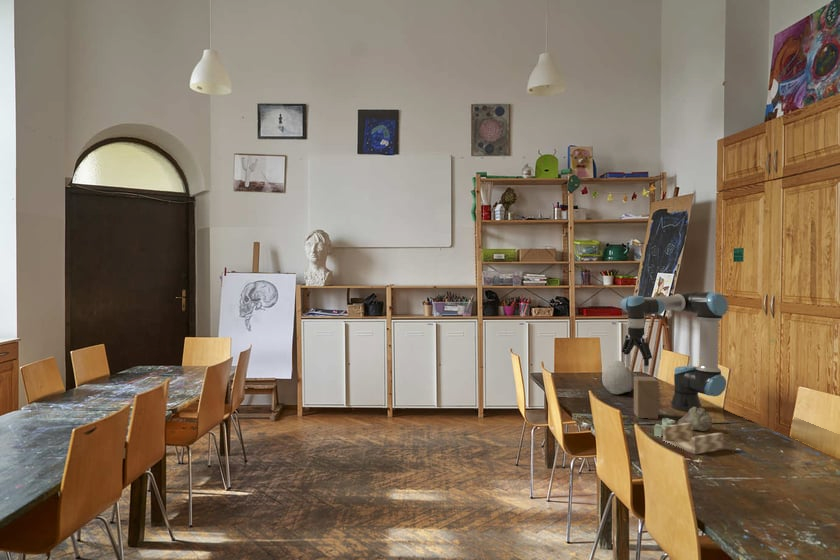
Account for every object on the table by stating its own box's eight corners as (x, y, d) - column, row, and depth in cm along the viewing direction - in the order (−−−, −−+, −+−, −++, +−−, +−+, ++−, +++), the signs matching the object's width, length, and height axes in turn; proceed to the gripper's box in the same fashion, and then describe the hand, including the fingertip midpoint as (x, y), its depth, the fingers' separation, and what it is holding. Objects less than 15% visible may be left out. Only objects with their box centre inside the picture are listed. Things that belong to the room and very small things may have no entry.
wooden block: (658, 419, 263) (658, 380, 263) (637, 418, 265) (637, 380, 265) (653, 414, 273) (653, 376, 272) (633, 413, 275) (633, 376, 274)
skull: (636, 389, 328) (636, 358, 327) (628, 398, 305) (628, 365, 304) (609, 386, 337) (609, 356, 336) (599, 395, 314) (599, 362, 314)
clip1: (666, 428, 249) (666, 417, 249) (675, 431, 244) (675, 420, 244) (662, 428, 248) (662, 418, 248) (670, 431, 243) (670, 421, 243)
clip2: (656, 434, 240) (656, 423, 239) (667, 436, 236) (667, 425, 236) (654, 436, 237) (654, 425, 237) (665, 438, 234) (665, 427, 234)
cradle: (689, 437, 235) (689, 422, 235) (723, 449, 219) (723, 433, 219) (662, 441, 230) (662, 426, 230) (694, 454, 214) (694, 438, 214)
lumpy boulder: (678, 426, 256) (710, 418, 251) (685, 441, 245) (718, 433, 241) (671, 408, 253) (703, 400, 248) (678, 423, 242) (711, 414, 238)
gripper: (614, 324, 264) (614, 365, 265) (646, 330, 240) (646, 375, 240) (627, 324, 266) (627, 364, 266) (660, 329, 241) (660, 374, 242)
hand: (636, 369), depth 253 cm, fingers open, 13 cm apart
